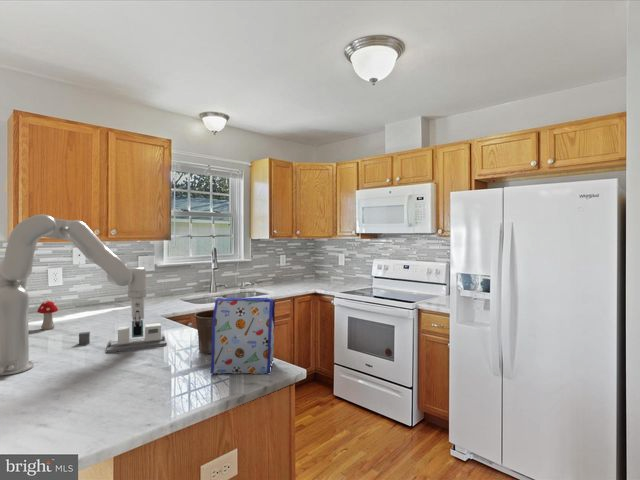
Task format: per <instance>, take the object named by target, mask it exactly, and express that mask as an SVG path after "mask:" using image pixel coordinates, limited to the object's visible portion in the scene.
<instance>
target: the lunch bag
mask: <svg viewBox="0 0 640 480" xmlns="http://www.w3.org/2000/svg"><path fill="white" fill-rule="evenodd" d="M275 308H276V301H274V298H268V297H226V298H225V297H224V298H216V299H215V303H214V308H213V310H214V312H213V324H212V353H210V354H211V355H210V357H211V358H210V374H216V373H217V374H221V373H270V374H271V372H270V367H271V364H272V361H274V349H275V329H276V328H275V327H276V326H275V325H276V321H275V320H276V319H275V317H276V316H275V315H276V313H275ZM221 375H222V374H221Z"/></svg>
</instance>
